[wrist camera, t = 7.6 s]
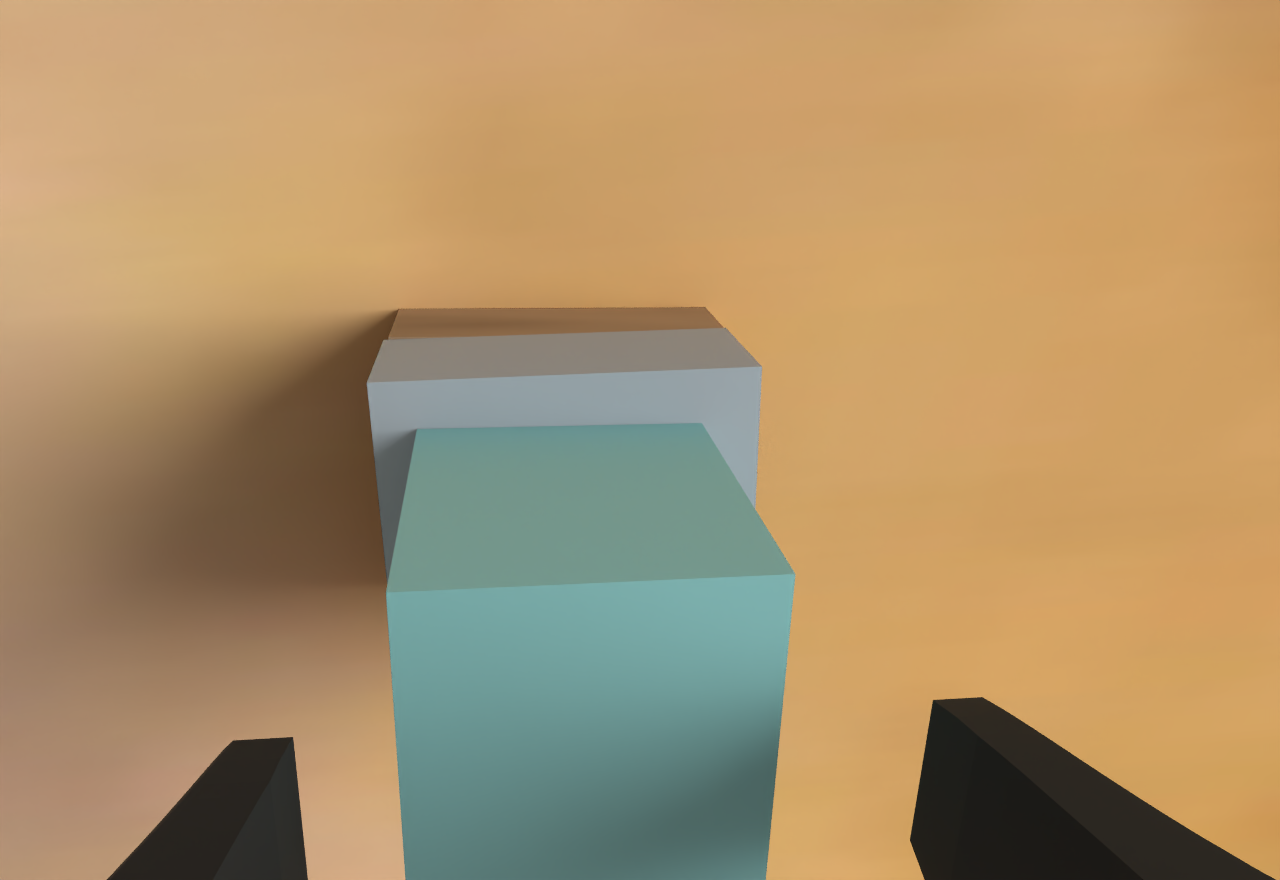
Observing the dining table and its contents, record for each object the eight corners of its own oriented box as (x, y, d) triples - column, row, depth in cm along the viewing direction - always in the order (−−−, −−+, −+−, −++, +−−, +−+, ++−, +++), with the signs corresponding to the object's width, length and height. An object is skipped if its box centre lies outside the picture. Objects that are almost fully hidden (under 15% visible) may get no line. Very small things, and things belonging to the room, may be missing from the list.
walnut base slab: (688, 565, 22) (711, 624, 20) (416, 578, 21) (407, 640, 19) (701, 303, 20) (729, 334, 18) (400, 305, 19) (388, 337, 17)
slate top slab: (716, 618, 20) (746, 691, 17) (411, 641, 19) (401, 721, 16) (725, 328, 18) (762, 366, 15) (383, 339, 17) (367, 383, 14)
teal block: (688, 662, 17) (765, 883, 12) (429, 677, 16) (408, 917, 12) (702, 422, 15) (794, 573, 11) (417, 428, 15) (386, 592, 10)
